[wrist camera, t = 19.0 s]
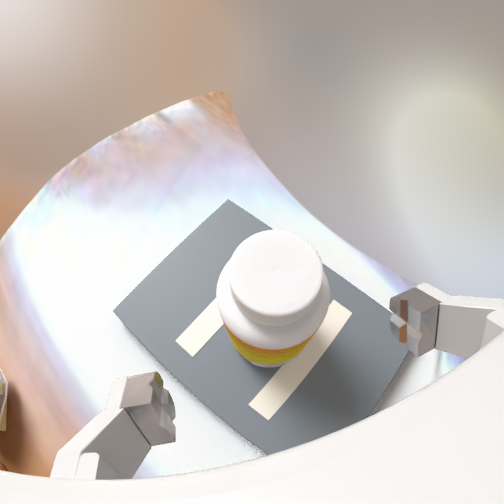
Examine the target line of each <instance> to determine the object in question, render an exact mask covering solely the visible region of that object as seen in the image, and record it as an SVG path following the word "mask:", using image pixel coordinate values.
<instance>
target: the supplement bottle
mask: <svg viewBox="0 0 504 504" xmlns="http://www.w3.org/2000/svg"><path fill="white" fill-rule="evenodd" d="M216 298H217V305H218V309H219V313H220V316H221V318H222V320H223V323H224V325H225V327H226V330H227V332H228V335H229V337H230V339H231V342H232V344H233V346H234V348H235V349H236V351H237V352H238V353H239V354H240V355H241V356H242V357H243V358H244V359H245V360H246V361H248V362H250V363H252V364H254V365H257V366H260V367H278V366H281V365H284V364H286V363H288V362H290V361H292V360H293V359H294V358H296V357H297V356H298V355H299V354H300V353H301V351H302V350H303V349H304V347H305V346H306V345H307V344H308V342H309V341H310V340H311V338H312V337H313V335H314V334H315V333H316V331H317V330H318V329H319V327H320V326H321V324H322V322H323V320H324V318H325V316H326V314H327V311H328V308H329V303H330V287H329V282H328V279H327V276H326V274H325V272H324V270H323V265H322V261H321V259H320V256H319V255H318V253H317V251H316V250H315V248H314V247H313V246H312V245H311V244H310V243H309V242H308V241H307V240H305V239H304V238H302V237H301V236H299V235H297V234H294V233H292V232H288V231H283V230H267V231H262V232H259V233H256V234H254V235H252V236H250V237H248V238H247V239H246V240H244V241H243V242H242V243H241V244H240V245H239V246H238V247H237V249H236V250H235V251H234V253H233V255H232V257H231V259H230V260H229V261H228V263H227V264H226V265H225V267H224V269H223V270H222V272H221V274H220V277H219V280H218V284H217V290H216Z"/></svg>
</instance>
